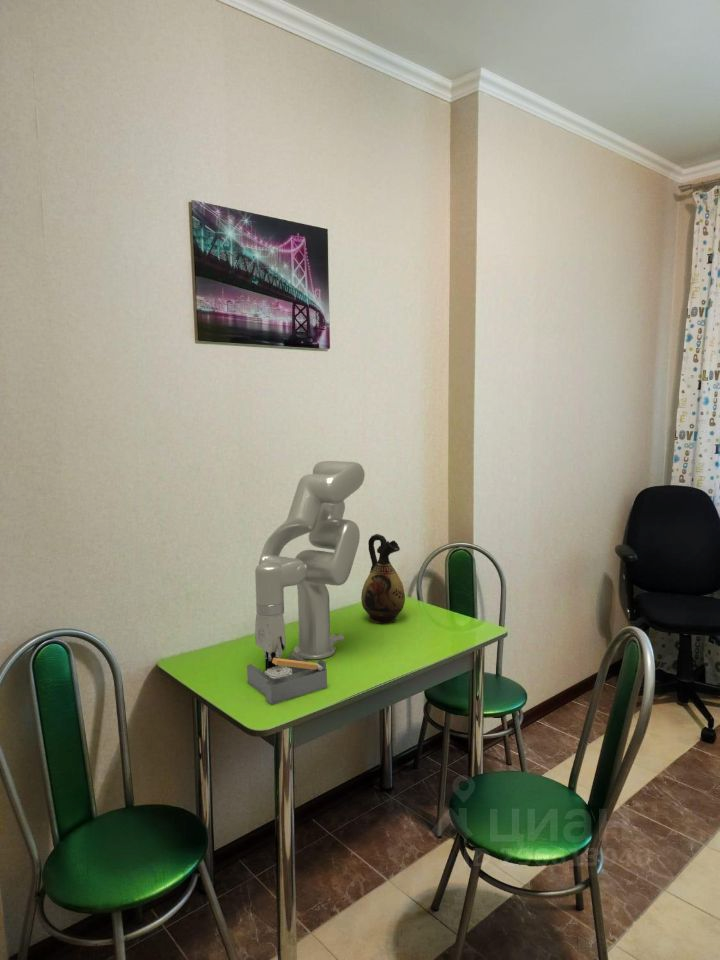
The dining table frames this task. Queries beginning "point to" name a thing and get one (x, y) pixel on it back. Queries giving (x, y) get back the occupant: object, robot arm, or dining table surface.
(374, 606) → the ceramic jug
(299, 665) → the bar
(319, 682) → the bracket
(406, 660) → the dining table surface
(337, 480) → the robot arm
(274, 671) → the mechanical component
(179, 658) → the dining table surface
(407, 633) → the dining table surface
